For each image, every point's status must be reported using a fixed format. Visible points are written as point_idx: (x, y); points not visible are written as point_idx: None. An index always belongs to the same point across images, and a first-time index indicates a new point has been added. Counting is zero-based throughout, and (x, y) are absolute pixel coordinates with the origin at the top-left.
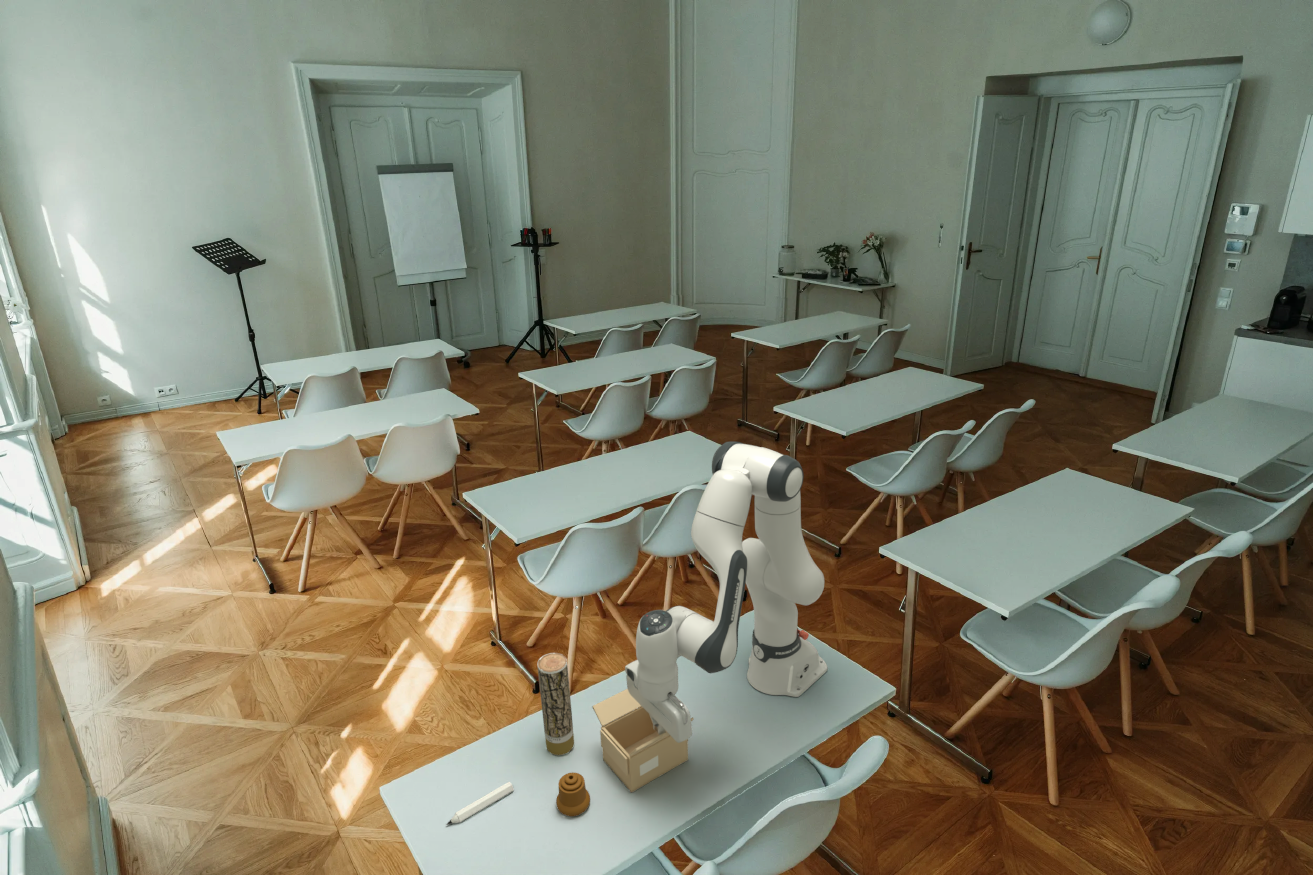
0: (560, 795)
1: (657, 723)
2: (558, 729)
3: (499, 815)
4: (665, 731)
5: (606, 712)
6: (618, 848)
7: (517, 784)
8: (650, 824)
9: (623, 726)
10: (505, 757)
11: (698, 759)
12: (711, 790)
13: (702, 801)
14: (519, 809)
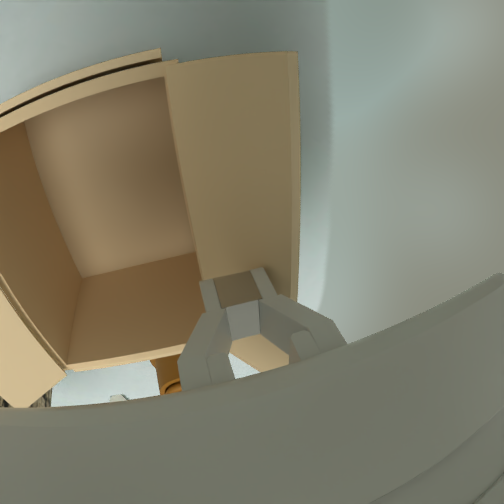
0: None
1: (230, 329)
2: (50, 403)
3: None
4: (263, 268)
5: (26, 374)
6: (304, 300)
7: (109, 390)
8: (300, 241)
9: (37, 285)
10: (54, 391)
11: (187, 35)
12: (309, 68)
13: (322, 109)
14: (157, 392)
